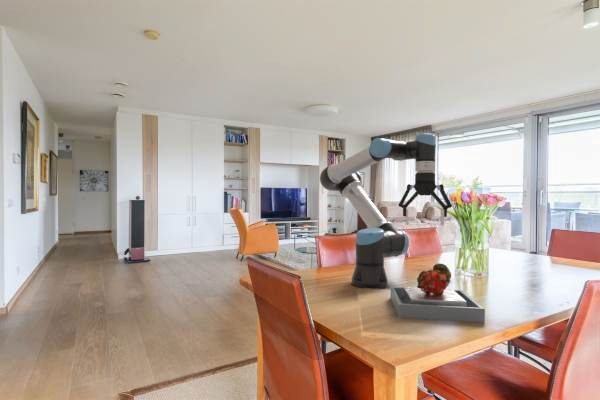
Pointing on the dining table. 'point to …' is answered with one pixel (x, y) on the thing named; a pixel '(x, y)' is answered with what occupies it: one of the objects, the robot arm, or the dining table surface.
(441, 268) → the avocado
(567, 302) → the dining table surface
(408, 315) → the tray
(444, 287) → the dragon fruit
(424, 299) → the metal tin
